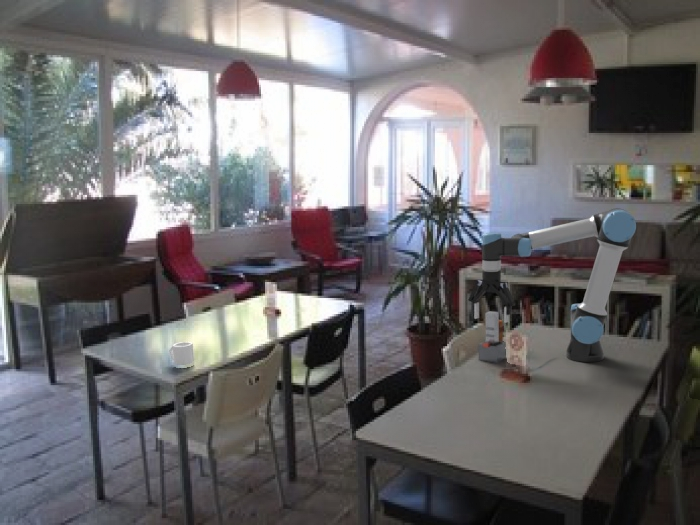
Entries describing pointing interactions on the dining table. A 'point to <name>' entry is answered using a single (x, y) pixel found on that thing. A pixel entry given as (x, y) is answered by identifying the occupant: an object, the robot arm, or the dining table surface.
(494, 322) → the column
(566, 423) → the dining table surface
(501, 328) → the mug
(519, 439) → the dining table surface
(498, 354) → the stand base
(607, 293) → the robot arm
